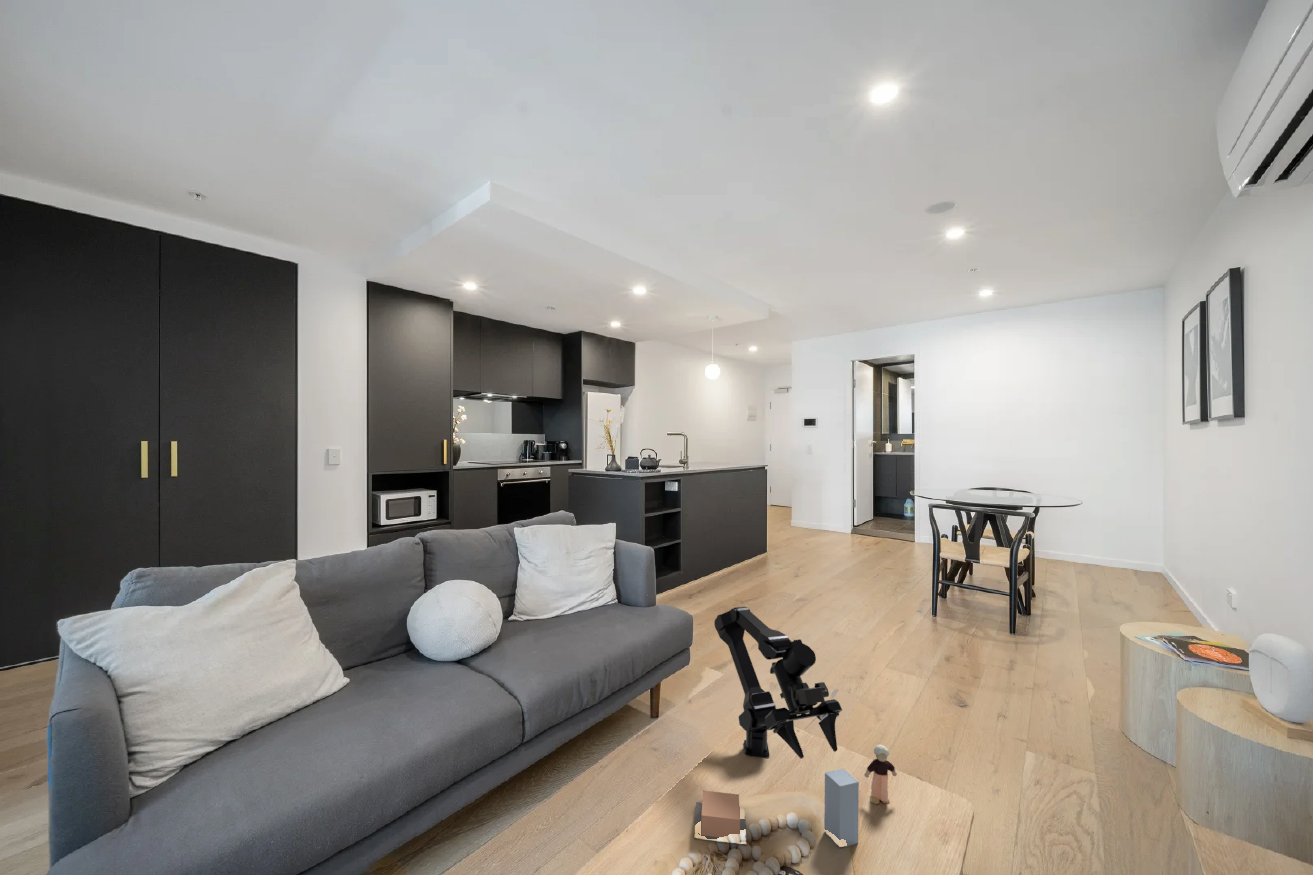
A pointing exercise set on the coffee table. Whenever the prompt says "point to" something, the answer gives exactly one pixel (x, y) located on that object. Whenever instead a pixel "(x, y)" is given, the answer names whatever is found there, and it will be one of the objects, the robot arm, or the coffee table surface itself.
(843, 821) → the slate column brick
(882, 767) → the grandmother figurine
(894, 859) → the coffee table surface
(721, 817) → the tower base
